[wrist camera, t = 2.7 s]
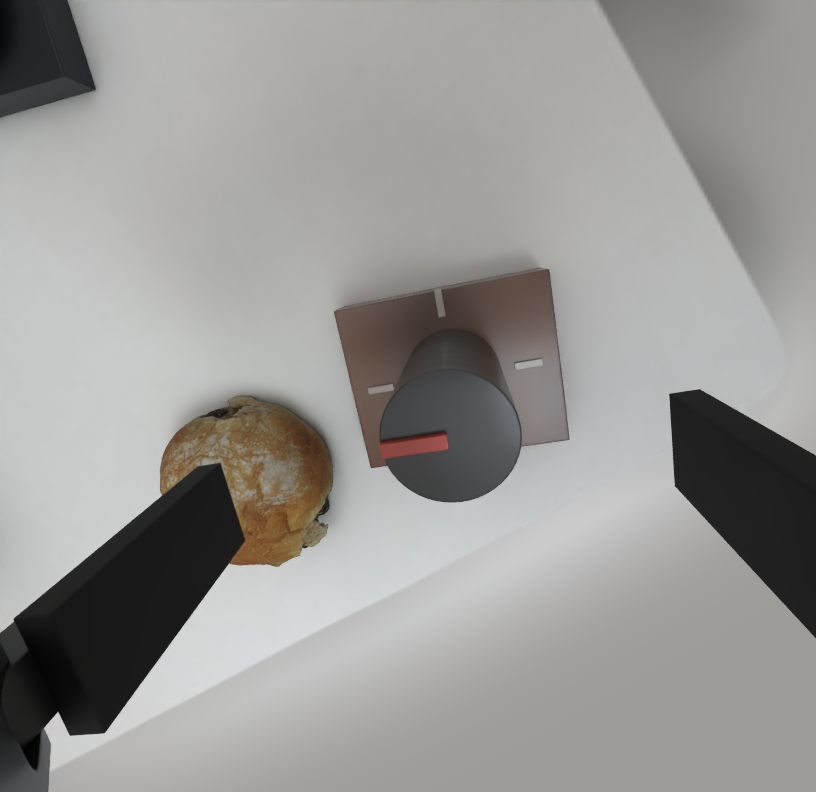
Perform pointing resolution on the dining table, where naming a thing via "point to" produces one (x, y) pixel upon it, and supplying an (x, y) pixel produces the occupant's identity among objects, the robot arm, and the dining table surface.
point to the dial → (451, 420)
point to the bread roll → (260, 474)
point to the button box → (39, 55)
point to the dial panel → (470, 311)
